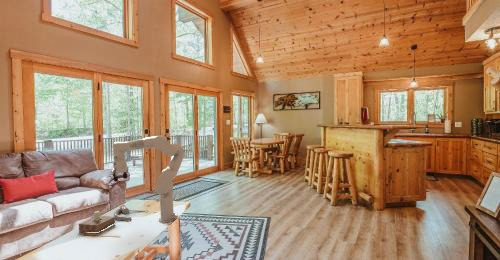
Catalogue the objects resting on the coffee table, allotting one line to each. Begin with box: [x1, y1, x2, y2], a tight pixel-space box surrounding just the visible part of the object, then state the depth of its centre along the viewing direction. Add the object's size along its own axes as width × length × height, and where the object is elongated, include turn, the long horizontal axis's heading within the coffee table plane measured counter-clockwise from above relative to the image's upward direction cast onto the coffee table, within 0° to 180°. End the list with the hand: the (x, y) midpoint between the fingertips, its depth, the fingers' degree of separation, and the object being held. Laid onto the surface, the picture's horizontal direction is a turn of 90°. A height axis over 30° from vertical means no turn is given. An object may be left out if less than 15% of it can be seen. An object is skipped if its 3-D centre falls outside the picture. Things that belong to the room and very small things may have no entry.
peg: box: [93, 210, 101, 222], centre depth 188 cm, size 4×4×12 cm
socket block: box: [78, 215, 116, 234], centre depth 188 cm, size 16×16×6 cm
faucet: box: [113, 204, 150, 221], centre depth 213 cm, size 5×28×28 cm
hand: (120, 179), depth 199 cm, fingers open, 9 cm apart
